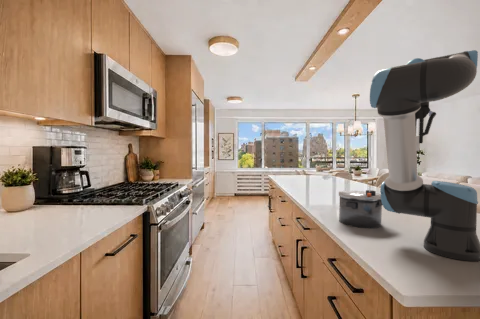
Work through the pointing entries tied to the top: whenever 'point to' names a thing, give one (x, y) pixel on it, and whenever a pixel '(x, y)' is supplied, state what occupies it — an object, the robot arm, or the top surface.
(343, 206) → the cooker pot
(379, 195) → the cooker lid
